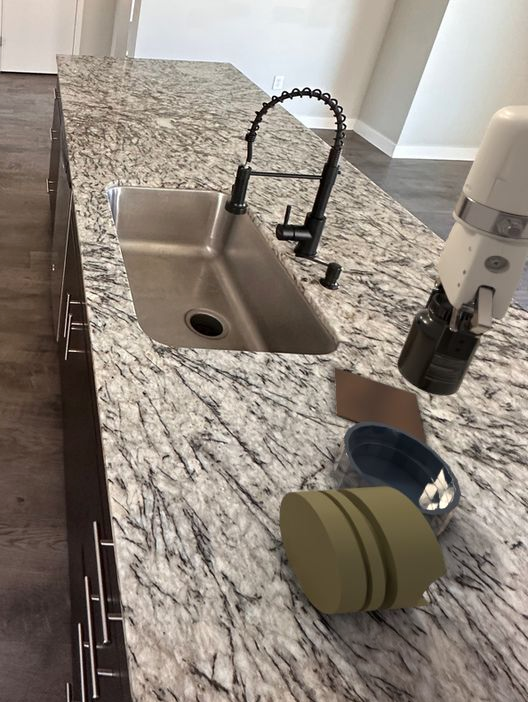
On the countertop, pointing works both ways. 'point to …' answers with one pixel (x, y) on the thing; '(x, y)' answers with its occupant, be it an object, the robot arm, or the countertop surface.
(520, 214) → the robot arm
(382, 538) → the piston
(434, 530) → the bowl
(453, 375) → the supplement bottle
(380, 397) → the walnut board
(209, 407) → the countertop surface
